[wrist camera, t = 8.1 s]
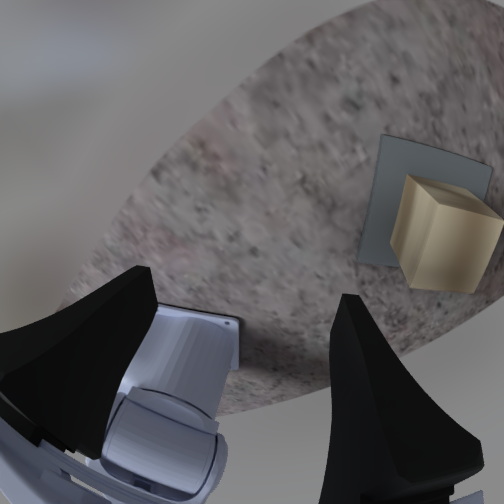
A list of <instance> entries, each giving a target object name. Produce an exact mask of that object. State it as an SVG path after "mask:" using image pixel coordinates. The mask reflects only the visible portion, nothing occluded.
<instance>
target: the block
mask: <svg viewBox="0 0 504 504" xmlns="http://www.w3.org/2000/svg"><path fill="white" fill-rule="evenodd" d="M503 225H504V220H503V219H502V218H501V217H500V216H499V215H497V214H496V213H495V212H494V211H493V210H492V209H491V208H489V207H488V206H487V205H486V204H485V203H483V202H482V201H481V200H480V199H478V198H477V197H476V196H475V195H473V194H472V193H471V192H470V191H468V190H467V189H465V188H461V187H458V186H454V185H450V184H447V183H443V182H439V181H435V180H431V179H427V178H423V177H418V176H414V175H410V174H407V176H406V180H405V185H404V189H403V194H402V198H401V202H400V206H399V210H398V214H397V218H396V222H395V226H394V229H393V233H392V236H391V240H390V244H391V246H392V249H393V251H394V253H395V255H396V257H397V259H398V262H399V264H400V266H401V268H402V271H403V273H404V275H405V278H406V280H407V282H408V285H409V287H410V288H417V289H427V290H438V291H449V292H460V293H472V294H474V292H475V290H476V288H477V286H478V284H479V282H480V280H481V278H482V276H483V274H484V271H485V269H486V267H487V265H488V263H489V260H490V258H491V256H492V253H493V251H494V249H495V246H496V244H497V241H498V239H499V236H500V233H501V231H502V228H503Z"/></svg>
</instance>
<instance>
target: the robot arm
mask: <svg viewBox="0 0 504 504" xmlns="http://www.w3.org/2000/svg"><path fill="white" fill-rule="evenodd" d="M227 321H228V322H227ZM329 362H330V379H331V398H332V423H331V434H330V443H329V451H328V458H327V465H326V471H325V476H324V482H323V486H322V491H321V496H320V500H319V504H484V503H483V491H482V490H480V491H478V492H475V493H473V494H470V495H468V496H465V497H462V498H460V499H457V500H454V501H451V502H449V496H450V495H453V494H454V485H455V484H457V483H459V482H461V481H463V480H465V479H467V478H469V477H471V476H473V475H475V474H476V473H478V472H479V471H481V470H482V468H483V467H484V460H483V453H482V447H481V443H480V440H478V439H477V438H476V437H474V436H473V435H472V434H470V433H469V432H468V431H466V430H465V429H464V428H463V427H461V426H460V425H459V424H458V423H456V422H455V421H454V420H453V419H452V418H451V417H450V416H449V415H448V414H446V413H445V412H444V411H443V410H442V409H441V408H440V407H439V406H438V405H437V404H436V403H435V402H434V401H433V400H432V399H431V397H429V396H428V394H427V393H426V392H425V391H424V390H423V389H422V388H421V387H420V385H419V384H418V383H417V382H416V381H415V379H414V378H413V377H412V376H411V375H410V373H409V372H408V371H407V369H406V368H405V367H404V365H403V364H402V363H401V361H400V360H399V358H398V357H397V356H396V354H395V353H394V351H393V350H392V348H391V347H390V345H389V344H388V342H387V341H386V339H385V337H384V336H383V334H382V333H381V331H380V329H379V328H378V326H377V325H376V323H375V321H374V319H373V318H372V316H371V314H370V313H369V311H368V309H367V308H366V306H365V304H364V303H363V301H362V299H361V298H360V296H359V295H353V294H342V297H341V300H340V304H339V307H338V310H337V313H336V317H335V320H334V323H333V326H332V329H331V332H330V349H329ZM238 368H239V321H238V319H236V318H232V317H226V316H220V315H214V314H208V313H202V312H197V311H191V310H186V309H181V308H176V307H171V306H166V305H161V304H158V302H157V298H156V293H155V289H154V284H153V280H152V275H151V270H150V267H145V266H139V265H136V266H134V267H133V268H131V269H129V270H127V271H126V272H124V273H122V274H121V275H119V276H117V277H116V278H114V279H113V280H111V281H110V282H108V283H106V284H105V285H103V286H102V287H100V288H99V289H97V290H95V291H94V292H92V293H90V294H89V295H87V296H85V297H84V298H82V299H80V300H79V301H77V302H75V303H74V304H72V305H70V306H68V307H66V308H65V309H63V310H61V311H59V312H57V313H55V314H53V315H51V316H48V317H46V318H44V319H42V320H39V321H36V322H34V323H32V324H29V325H27V326H24V327H21V328H18V329H14V330H11V331H8V332H4V333H0V490H1V491H2V493H3V494H4V495H5V497H6V498H7V499H8V500H9V502H10V503H11V504H204V503H205V501H206V500H207V498H208V497H209V495H210V493H212V492H213V491H214V490H215V488H216V487H217V485H218V484H219V482H220V480H221V477H222V475H223V472H224V469H225V466H226V462H227V456H228V446H227V443H226V442H225V438H224V436H223V435H222V434H220V433H217V430H218V426H219V422H217V421H214V420H215V417H216V413H217V410H218V406H219V403H220V399H221V396H222V392H223V389H224V385H225V382H226V378H227V375H228V371H229V369H230V370H238ZM117 392H118V393H117ZM66 449H67V450H69V451H70V452H72V453H75V451H77V452H79V453H81V454H83V455H84V456H86V460H85V462H86V464H87V465H86V466H85V465H84V464H82V463H80V462H78V461H77V460H75V459H73V458H72V457H70V456H68V455H67V454H65V453H64V452H65V450H66ZM70 475H72V476H74V477H75V478H77V479H79V480H81V481H82V482H84V483H86V484H87V485H89V486H91V487H93V488H95V489H97V490H99V491H100V492H102V494H103V495H104V496H105V498H104V497H102V496H101V495H99V494H97V493H95V492H93V491H91V490H89V489H87V488H85V487H83V486H81V485H79V484H77V483H75V482H73V481H72V480H71V477H70Z"/></svg>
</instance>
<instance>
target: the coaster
mask: <svg viewBox="0 0 504 504" xmlns="http://www.w3.org/2000/svg"><path fill="white" fill-rule="evenodd" d="M491 172H492V167H490V166H488V165H486V164H483V163H480V162H478V161H475V160H472V159H469V158H467V157H464V156H461V155H458V154H455V153H452V152H449V151H445V150H442V149H439V148H435V147H432V146H428V145H425V144H421V143H418V142H414V141H410V140H406V139H402V138H397V137H393V136H389V135H384V134H381V138H380V145H379V151H378V158H377V164H376V169H375V175H374V181H373V186H372V191H371V196H370V201H369V206H368V210H367V215H366V219H365V224H364V228H363V232H362V236H361V240H360V244H359V248H358V252H357V256H356V259H357V262H361V263H369V264H377V265H385V266H393V267H401V266H400V264H399V262H398V259H397V257H396V255H395V253H394V251H393V249H392V246H391V244H390V240H391V236H392V233H393V229H394V226H395V222H396V218H397V214H398V210H399V206H400V202H401V198H402V194H403V189H404V185H405V180H406V176H407V174H410V175H414V176H418V177H423V178H427V179H431V180H435V181H439V182H443V183H447V184H450V185H454V186H458V187H461V188H465V189H467V190H468V191H470V192H471V193H472V194H473V195H475V196H476V197H477V198H478V199H480V200H481V201H482V202H484V199H485V195H486V192H487V188H488V184H489V180H490V176H491Z"/></svg>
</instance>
